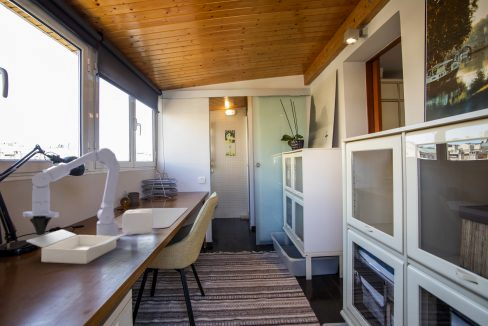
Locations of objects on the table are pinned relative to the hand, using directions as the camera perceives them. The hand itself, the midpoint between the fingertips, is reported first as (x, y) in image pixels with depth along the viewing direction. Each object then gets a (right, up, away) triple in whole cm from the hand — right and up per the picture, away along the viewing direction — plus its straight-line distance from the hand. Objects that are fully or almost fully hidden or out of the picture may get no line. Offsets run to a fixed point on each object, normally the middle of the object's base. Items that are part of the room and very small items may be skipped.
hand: (40, 234), depth 102 cm
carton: (+18, -8, -2) cm, 20 cm away
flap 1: (+6, -1, -1) cm, 6 cm away
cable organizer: (+27, -8, +31) cm, 42 cm away
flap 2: (+31, -1, -3) cm, 31 cm away
